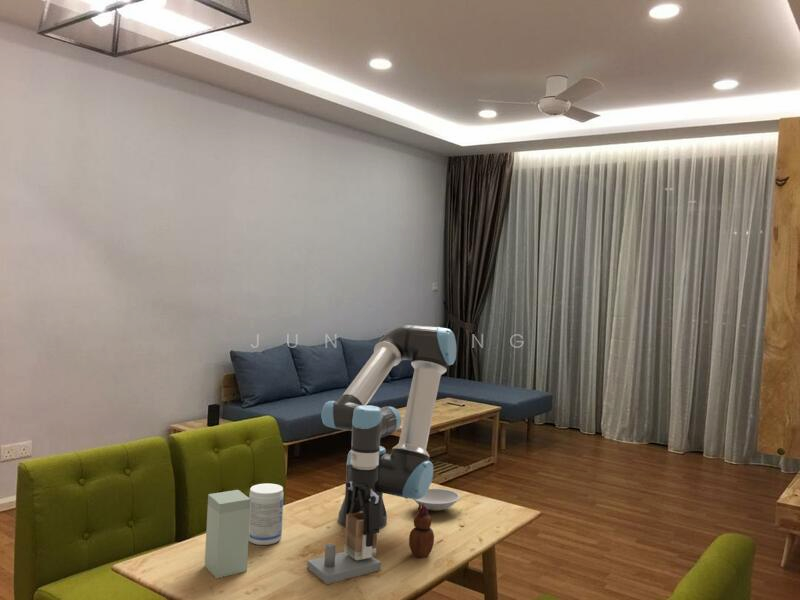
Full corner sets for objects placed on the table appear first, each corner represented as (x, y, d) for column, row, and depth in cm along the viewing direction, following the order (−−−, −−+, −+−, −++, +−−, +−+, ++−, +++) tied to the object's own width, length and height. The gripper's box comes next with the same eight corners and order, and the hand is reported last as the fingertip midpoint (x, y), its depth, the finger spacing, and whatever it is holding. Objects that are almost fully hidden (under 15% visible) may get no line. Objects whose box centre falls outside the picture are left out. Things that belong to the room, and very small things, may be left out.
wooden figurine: (415, 561, 171) (418, 506, 171) (405, 552, 177) (408, 499, 176) (436, 557, 175) (439, 503, 174) (426, 549, 180) (429, 496, 179)
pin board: (359, 555, 173) (361, 529, 173) (380, 569, 165) (381, 543, 165) (307, 568, 163) (308, 541, 163) (326, 584, 155) (328, 556, 155)
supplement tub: (286, 542, 178) (289, 491, 178) (254, 548, 173) (257, 495, 173) (273, 530, 187) (276, 481, 186) (242, 536, 181) (244, 485, 181)
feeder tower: (235, 558, 167) (239, 489, 166) (248, 570, 160) (251, 498, 160) (204, 565, 162) (208, 494, 161) (215, 578, 155) (219, 504, 155)
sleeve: (363, 546, 171) (365, 510, 171) (375, 555, 166) (377, 517, 166) (344, 551, 168) (346, 514, 167) (356, 560, 163) (358, 522, 162)
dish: (441, 499, 222) (442, 485, 222) (469, 513, 210) (470, 498, 210) (401, 507, 212) (402, 492, 212) (427, 522, 200) (428, 506, 200)
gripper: (333, 458, 172) (328, 542, 172) (372, 477, 156) (367, 570, 157) (356, 454, 176) (352, 537, 177) (397, 473, 161) (392, 563, 161)
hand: (359, 552), depth 167 cm, fingers closed on sleeve, 6 cm apart
